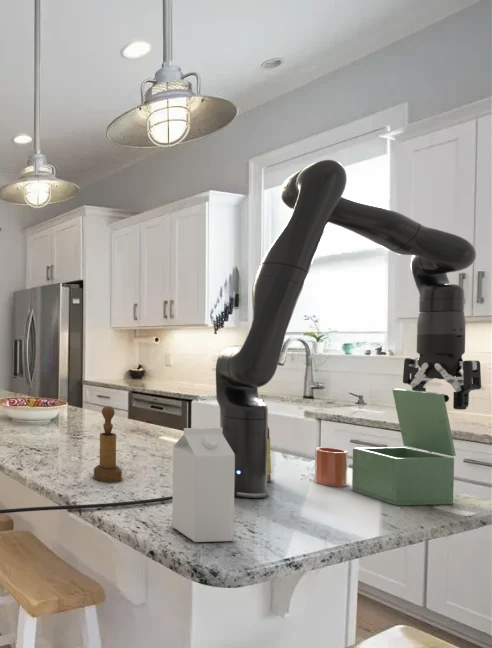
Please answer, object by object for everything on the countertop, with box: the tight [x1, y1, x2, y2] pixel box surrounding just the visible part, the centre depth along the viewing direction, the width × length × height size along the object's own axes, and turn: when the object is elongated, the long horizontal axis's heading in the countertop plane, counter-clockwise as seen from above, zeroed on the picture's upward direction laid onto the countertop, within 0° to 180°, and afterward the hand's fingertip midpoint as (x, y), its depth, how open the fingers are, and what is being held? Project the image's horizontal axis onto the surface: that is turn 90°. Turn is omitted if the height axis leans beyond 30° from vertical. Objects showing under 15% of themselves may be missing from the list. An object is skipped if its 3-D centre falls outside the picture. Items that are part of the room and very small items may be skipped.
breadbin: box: [351, 446, 455, 506], centre depth 110 cm, size 13×11×10 cm
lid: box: [392, 388, 457, 457], centre depth 110 cm, size 13×11×5 cm
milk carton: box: [171, 427, 235, 543], centre depth 89 cm, size 7×7×19 cm
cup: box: [314, 446, 348, 488], centre depth 120 cm, size 6×6×8 cm
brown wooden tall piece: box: [93, 405, 123, 483], centre depth 125 cm, size 7×6×18 cm
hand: (438, 406), depth 110 cm, fingers open, 8 cm apart
